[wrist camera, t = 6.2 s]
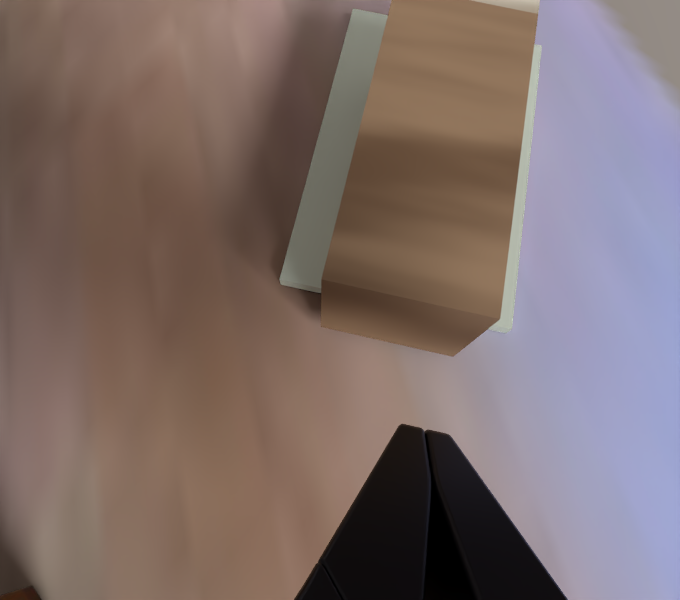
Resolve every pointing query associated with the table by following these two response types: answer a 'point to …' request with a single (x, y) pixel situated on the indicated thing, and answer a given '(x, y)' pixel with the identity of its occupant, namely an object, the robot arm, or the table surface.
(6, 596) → the food container
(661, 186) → the table surface
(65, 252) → the table surface
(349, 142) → the rubber mat
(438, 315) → the walnut block
